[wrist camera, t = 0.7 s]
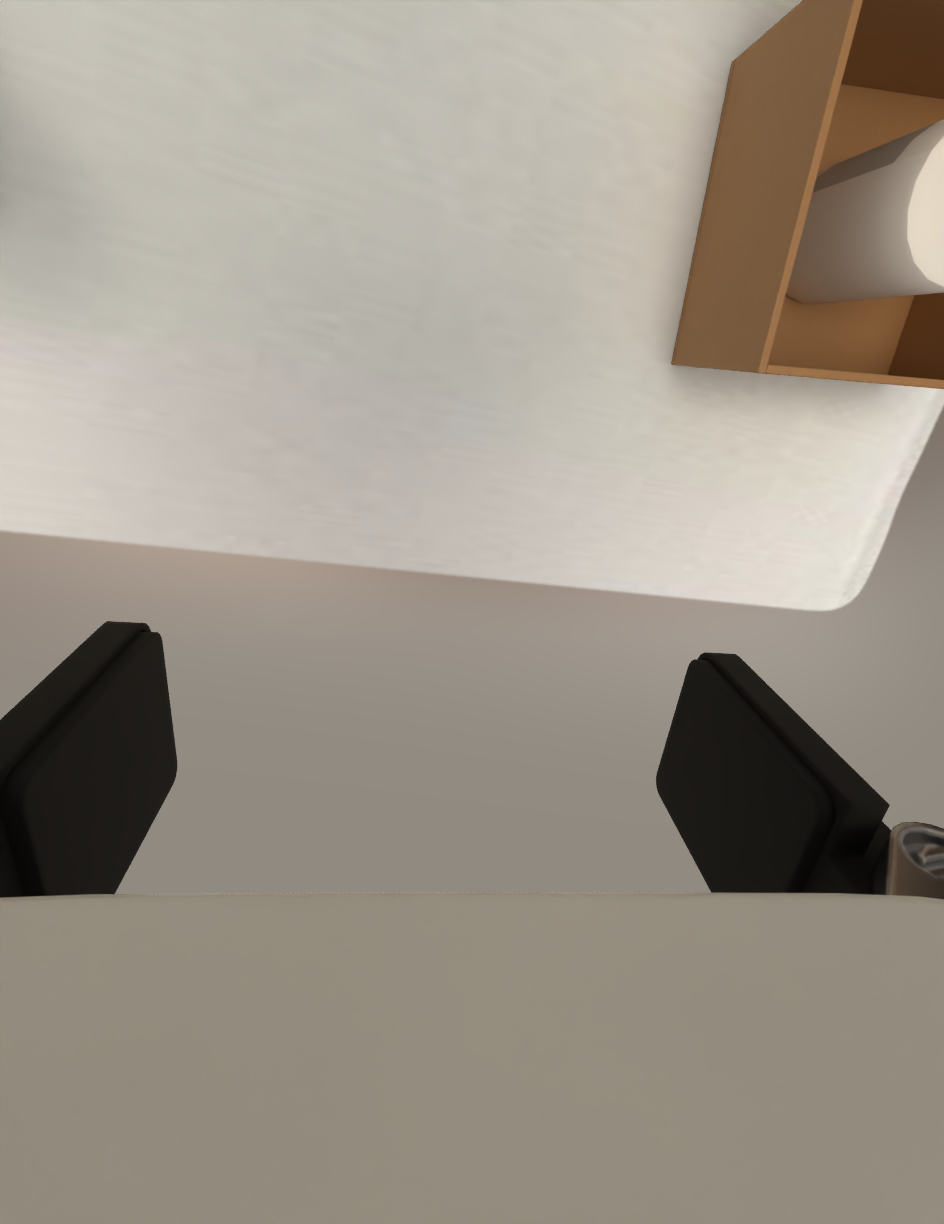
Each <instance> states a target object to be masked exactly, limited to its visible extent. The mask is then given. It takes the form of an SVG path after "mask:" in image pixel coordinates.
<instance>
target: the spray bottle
mask: <svg viewBox="0 0 944 1224" xmlns="http://www.w3.org/2000/svg"><path fill="white" fill-rule="evenodd" d="M933 293H944V119H943V120H941V121H938V122H936V123H933V124H931V125H929V126H926V127H924V128H921V129H919V130H917V131H914V132H912V133H909V134H907V135H905V136H902V137H900V138H897V139H895V140H893V141H890V142H888V143H885V144H883V145H880V146H878V147H876V148H873V149H871V150H868V151H866V152H864V153H861V154H859V155H856V156H854V157H852V158H849V159H847V160H844V161H842V162H840V163H837V164H835V165H832V166H830V167H828V168H825V169H823V170H820V171H818V174H817V178H816V181H815V185H814V189H813V193H812V197H811V200H810V204H809V208H808V212H807V216H806V220H805V223H804V227H803V231H802V235H801V239H800V242H799V246H798V250H797V254H796V258H795V261H794V265H793V269H792V273H791V277H790V281H789V284H788V288H787V292H786V295H787V296H788V297H790V298H793V299H795V300H797V301H799V302H801V303H831V302H842V301H853V300H865V299H876V298H887V297H899V296H910V295H922V294H933Z"/></svg>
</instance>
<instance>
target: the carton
mask: <svg viewBox="0 0 944 1224" xmlns="http://www.w3.org/2000/svg"><path fill="white" fill-rule="evenodd" d="M943 119H944V0H803V1H802V2H801V3H800V4H798V5H797V6H796V7H795V8H794V9H793V10H792V11H790V12H789V13H788V14H787V15H786V16H785V17H783V18H782V19H781V20H780V21H779V22H778V23H777V24H775V25H774V26H773V27H772V28H771V29H770V30H769V31H767V32H766V33H765V34H764V35H763V36H762V37H760V38H759V39H758V40H757V41H756V42H755V43H754V44H752V45H751V46H750V47H749V48H748V49H747V50H745V51H744V52H743V53H742V54H741V55H740V56H739V57H737V58H736V59H735V60H734V61H733V62H732V65H731V70H730V75H729V80H728V85H727V90H726V95H725V100H724V105H723V110H722V115H721V120H720V125H719V130H718V135H717V140H716V145H715V150H714V155H713V160H712V165H711V170H710V175H709V180H708V185H707V190H706V195H705V200H704V205H703V210H702V215H701V219H700V224H699V229H698V234H697V239H696V244H695V249H694V254H693V259H692V264H691V269H690V274H689V279H688V284H687V289H686V294H685V299H684V304H683V309H682V314H681V319H680V324H679V329H678V334H677V339H676V344H675V349H674V354H673V359H672V365H682V366H693V367H703V368H713V369H723V370H733V371H744V372H754V373H765V374H776V375H788V376H800V377H811V378H823V379H834V380H846V381H857V382H869V383H881V384H892V385H904V386H915V387H927V388H938V389H944V293H933V294H922V295H910V296H899V297H887V298H876V299H865V300H853V301H842V302H831V303H801V302H799V301H797V300H795V299H793V298H790V297H788V296H787V295H786V292H787V288H788V284H789V281H790V277H791V273H792V269H793V265H794V261H795V258H796V254H797V250H798V246H799V242H800V239H801V235H802V231H803V227H804V223H805V220H806V216H807V212H808V208H809V204H810V200H811V197H812V193H813V189H814V185H815V181H816V178H817V174H818V171H820V170H823V169H825V168H828V167H830V166H832V165H835V164H837V163H840V162H842V161H844V160H847V159H849V158H852V157H854V156H856V155H859V154H861V153H864V152H866V151H868V150H871V149H873V148H876V147H878V146H880V145H883V144H885V143H888V142H890V141H893V140H895V139H897V138H900V137H902V136H905V135H907V134H909V133H912V132H914V131H917V130H919V129H921V128H924V127H926V126H929V125H931V124H933V123H936V122H938V121H941V120H943Z"/></svg>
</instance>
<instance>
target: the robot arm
mask: <svg viewBox="0 0 944 1224" xmlns="http://www.w3.org/2000/svg"><path fill="white" fill-rule="evenodd" d="M176 772H177V756H176V748H175V740H174V733H173V724H172V716H171V708H170V700H169V692H168V684H167V676H166V669H165V659H164V652H163V644H162V638H161V636H160V634H159V633H158V632H151V630H150V629H149V626H148V625H147V624H146V623H131V622H111V621H107V622H106V623H104V624H103V625H102V626H101V627H100V628H98V629H97V630H96V631H95V632H94V633H93V634H92V635H91V636H90V637H89V638H88V639H87V640H86V641H85V642H83V643H82V644H81V645H80V646H79V647H78V648H77V649H76V650H75V651H74V652H73V653H72V654H71V655H70V656H68V657H67V658H66V659H65V660H64V661H63V662H62V663H61V664H60V665H59V666H58V667H57V668H55V670H53V671H52V672H51V673H50V674H49V675H48V676H47V677H46V678H45V679H44V680H43V681H42V682H40V683H39V684H38V685H37V686H36V687H35V688H34V689H33V690H32V691H31V692H30V693H29V694H28V695H26V696H25V698H23V699H22V700H21V701H20V702H19V703H18V704H17V705H16V706H15V707H14V708H13V709H11V710H10V711H9V712H8V713H7V714H6V715H5V716H4V717H3V718H2V719H1V720H0V1224H944V829H943V828H939V827H937V826H933V825H930V824H925V823H918V822H903V823H900V824H898V825H896V826H895V827H893V828H892V830H890V829H889V828H888V827H887V826H886V825H885V824H884V823H883V822H882V819H883V817H884V815H885V813H886V811H887V809H888V807H889V804H888V803H887V802H886V801H885V800H884V799H883V798H882V797H881V796H880V795H879V794H878V793H877V792H876V791H875V790H874V789H873V788H872V787H871V786H870V785H869V784H868V783H867V782H866V781H865V780H864V779H863V778H862V777H861V776H860V775H859V774H858V773H857V772H856V771H855V770H854V769H852V767H850V766H849V765H848V764H847V763H846V762H845V761H844V760H843V759H842V758H841V757H840V756H839V755H838V754H837V753H836V752H835V751H834V750H833V749H832V748H831V747H830V746H829V745H828V744H827V743H826V742H825V741H824V740H823V739H822V738H821V737H820V736H819V735H818V734H817V733H816V732H815V731H814V730H813V729H812V728H811V727H810V726H809V725H808V724H807V723H806V722H805V721H804V720H803V719H802V718H801V717H800V716H799V715H798V714H797V713H795V711H793V709H792V708H791V707H789V705H788V704H787V703H785V701H783V700H782V699H781V698H780V697H779V696H778V695H777V694H776V693H775V692H774V691H773V690H772V689H771V688H770V687H769V686H768V685H767V684H766V683H765V682H764V681H763V680H762V679H761V678H760V677H759V676H758V675H757V674H756V673H755V672H754V671H753V670H752V669H751V668H750V667H749V666H748V665H747V664H746V663H745V662H744V661H743V660H742V659H741V658H740V657H739V656H737V655H736V654H723V653H722V654H721V653H703V654H701V655H700V656H699V658H698V660H693V661H691V663H690V664H689V666H688V670H687V673H686V676H685V679H684V683H683V687H682V690H681V693H680V696H679V700H678V704H677V707H676V710H675V713H674V717H673V720H672V724H671V727H670V731H669V734H668V737H667V741H666V744H665V748H664V751H663V754H662V758H661V761H660V765H659V768H658V771H657V776H656V785H657V790H658V793H659V795H660V797H661V799H662V801H663V803H664V805H665V807H666V808H667V810H668V812H669V814H670V816H671V818H672V820H673V822H674V824H675V825H676V827H677V829H678V831H679V833H680V835H681V837H682V838H683V840H684V842H685V844H686V846H687V848H688V849H689V851H690V853H691V855H692V857H693V859H694V861H695V863H696V865H697V866H698V868H699V870H700V872H701V874H702V876H703V878H704V880H705V881H706V883H707V885H708V887H709V889H710V890H711V893H671V892H670V893H669V892H668V893H666V892H664V893H663V892H654V893H652V892H648V893H647V892H646V893H645V892H644V893H643V892H641V893H640V892H634V893H633V892H631V893H625V892H621V893H620V892H618V893H617V892H615V893H613V892H612V893H611V892H607V893H605V892H600V893H599V892H596V893H594V892H592V893H589V892H588V893H587V892H586V893H585V892H584V893H583V892H581V893H580V892H576V893H575V892H573V893H572V892H570V893H569V892H568V893H566V892H564V893H562V892H560V893H559V892H556V893H555V892H554V893H552V892H548V893H547V892H546V893H545V892H544V893H543V892H542V893H539V892H536V893H535V892H534V893H531V892H528V893H525V892H523V893H522V892H521V893H520V892H519V893H516V892H514V893H513V892H511V893H506V892H505V893H504V892H502V893H501V892H498V893H237V894H236V893H234V894H233V893H230V894H115V892H116V890H117V888H118V886H119V885H120V883H121V881H122V879H123V877H124V875H125V873H126V871H127V870H128V868H129V866H130V864H131V862H132V860H133V858H134V856H135V855H136V853H137V851H138V849H139V847H140V845H141V843H142V842H143V840H144V838H145V836H146V834H147V832H148V830H149V828H150V827H151V824H152V823H153V821H154V819H155V817H156V815H157V813H158V812H159V810H160V808H161V806H162V804H163V802H164V800H165V799H166V797H167V794H168V793H169V791H170V789H171V787H172V785H173V783H174V781H175V777H176Z"/></svg>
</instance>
